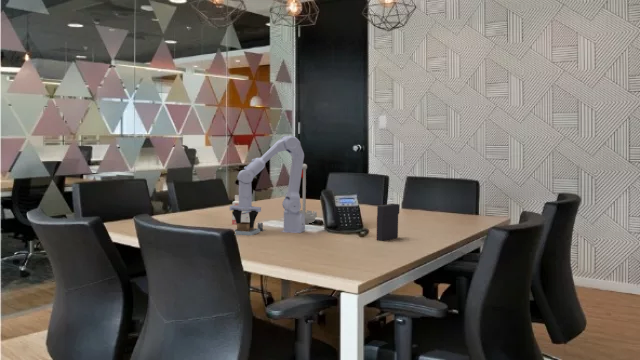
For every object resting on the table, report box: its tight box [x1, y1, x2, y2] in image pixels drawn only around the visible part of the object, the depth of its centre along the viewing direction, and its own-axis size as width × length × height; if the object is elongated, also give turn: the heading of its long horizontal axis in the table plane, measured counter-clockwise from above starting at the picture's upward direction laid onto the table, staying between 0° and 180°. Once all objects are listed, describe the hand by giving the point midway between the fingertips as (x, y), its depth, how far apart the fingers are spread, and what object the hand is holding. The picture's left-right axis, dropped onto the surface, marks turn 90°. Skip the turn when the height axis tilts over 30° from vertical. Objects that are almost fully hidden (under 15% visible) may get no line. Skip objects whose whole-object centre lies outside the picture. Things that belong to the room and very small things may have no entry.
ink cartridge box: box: [231, 194, 251, 226], centre depth 277 cm, size 9×5×15 cm, turn 84°
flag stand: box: [299, 163, 318, 225], centre depth 287 cm, size 13×13×30 cm
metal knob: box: [257, 222, 267, 232], centre depth 260 cm, size 5×5×4 cm
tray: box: [234, 227, 261, 236], centre depth 252 cm, size 10×10×2 cm
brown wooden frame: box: [236, 222, 255, 232], centre depth 252 cm, size 7×6×3 cm
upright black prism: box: [376, 203, 400, 242], centre depth 243 cm, size 11×4×15 cm, turn 134°
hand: (245, 227), depth 252 cm, fingers closed on brown wooden frame, 6 cm apart
